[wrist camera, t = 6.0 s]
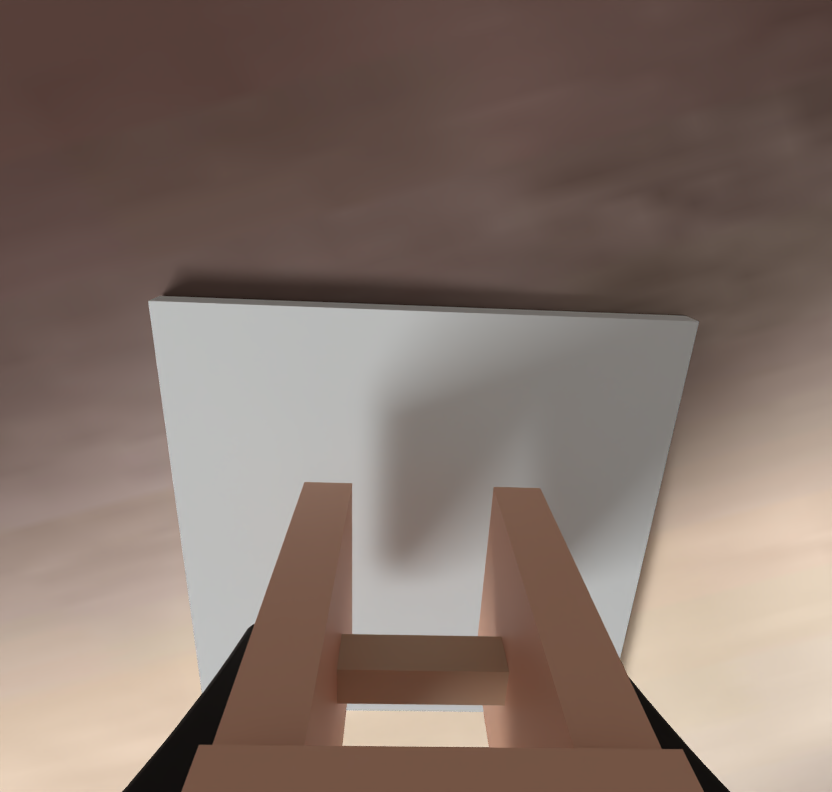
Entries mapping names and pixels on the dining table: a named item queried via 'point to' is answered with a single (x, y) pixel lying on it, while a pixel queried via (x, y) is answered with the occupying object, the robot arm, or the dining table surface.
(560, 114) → the dining table surface
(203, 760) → the tan slotted block
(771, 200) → the dining table surface
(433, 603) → the mat
